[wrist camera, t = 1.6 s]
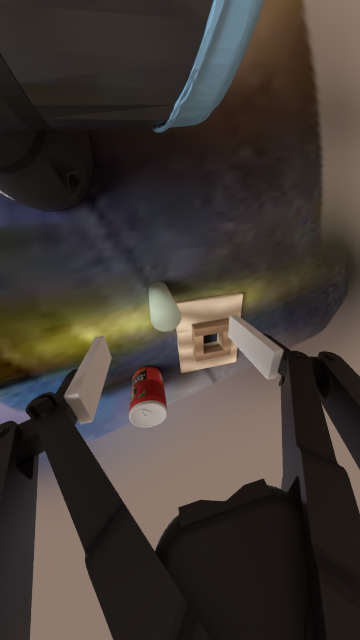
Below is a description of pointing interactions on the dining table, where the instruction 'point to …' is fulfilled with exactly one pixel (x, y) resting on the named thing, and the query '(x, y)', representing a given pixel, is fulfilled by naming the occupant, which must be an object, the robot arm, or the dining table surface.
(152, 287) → the peg
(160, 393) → the canned food
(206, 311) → the socket board
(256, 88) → the dining table surface
